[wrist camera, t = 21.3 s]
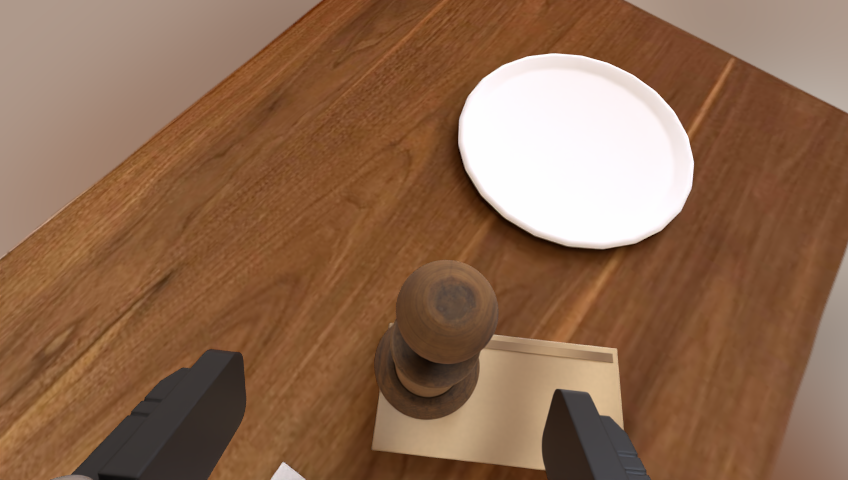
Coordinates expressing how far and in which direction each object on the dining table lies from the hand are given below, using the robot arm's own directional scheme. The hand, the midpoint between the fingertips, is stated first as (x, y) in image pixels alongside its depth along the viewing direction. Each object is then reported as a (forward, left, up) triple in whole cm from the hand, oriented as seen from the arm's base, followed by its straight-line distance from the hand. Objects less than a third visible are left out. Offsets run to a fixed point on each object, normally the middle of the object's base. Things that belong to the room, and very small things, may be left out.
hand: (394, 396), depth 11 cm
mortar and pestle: (+1, +3, -17) cm, 18 cm away
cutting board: (+6, +2, -19) cm, 20 cm away
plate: (+12, +24, -19) cm, 33 cm away
